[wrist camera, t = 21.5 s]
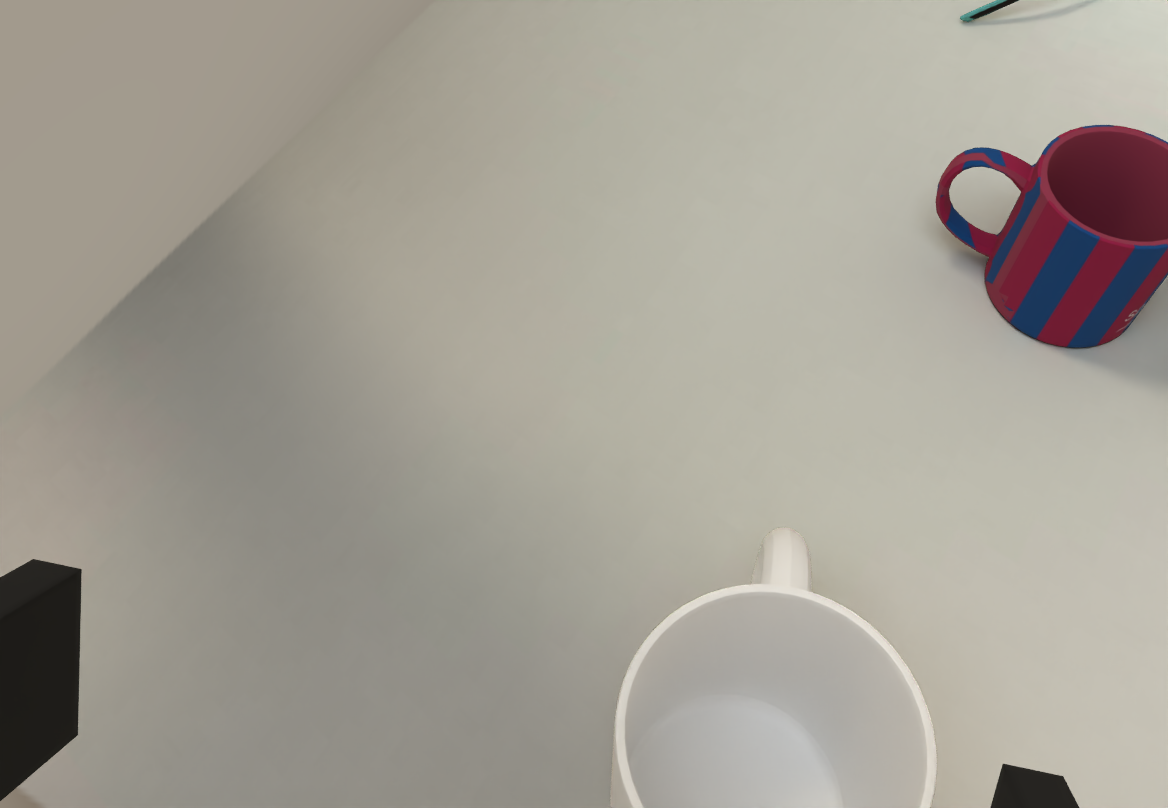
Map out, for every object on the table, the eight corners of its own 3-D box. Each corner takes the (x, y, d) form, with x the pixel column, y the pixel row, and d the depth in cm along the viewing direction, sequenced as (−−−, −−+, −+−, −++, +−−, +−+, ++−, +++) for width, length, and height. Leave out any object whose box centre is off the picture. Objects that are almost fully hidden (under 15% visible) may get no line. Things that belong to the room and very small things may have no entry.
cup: (1110, 373, 44) (1188, 274, 38) (893, 279, 47) (935, 173, 41) (1153, 269, 47) (1231, 162, 41) (947, 186, 50) (993, 75, 44)
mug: (656, 573, 40) (673, 442, 31) (872, 620, 39) (953, 498, 30) (585, 907, 34) (581, 863, 25) (838, 974, 32) (928, 952, 24)
